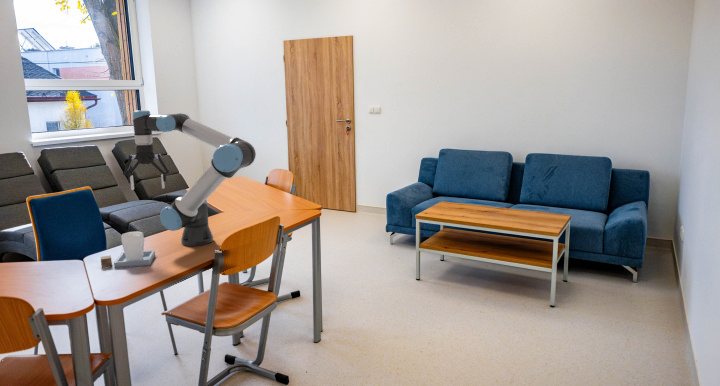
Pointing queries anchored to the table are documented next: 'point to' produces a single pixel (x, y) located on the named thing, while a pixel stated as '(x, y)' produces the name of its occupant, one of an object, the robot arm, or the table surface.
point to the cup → (133, 245)
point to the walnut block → (106, 261)
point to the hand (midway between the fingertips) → (148, 189)
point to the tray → (123, 263)
